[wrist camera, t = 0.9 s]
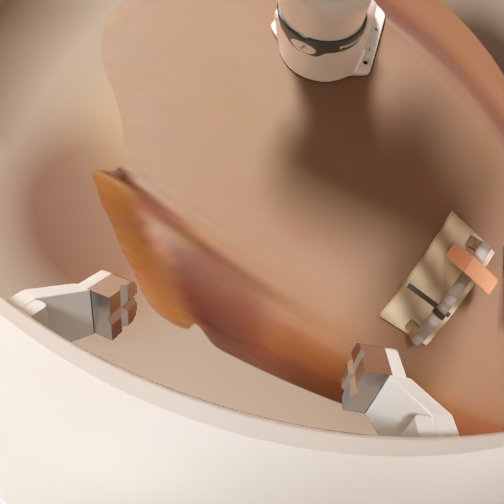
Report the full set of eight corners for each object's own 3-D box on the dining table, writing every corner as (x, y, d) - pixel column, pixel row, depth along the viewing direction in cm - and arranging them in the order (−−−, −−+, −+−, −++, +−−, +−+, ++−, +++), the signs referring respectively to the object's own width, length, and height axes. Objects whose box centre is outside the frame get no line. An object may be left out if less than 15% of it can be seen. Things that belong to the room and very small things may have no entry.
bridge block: (453, 242, 42) (474, 256, 35) (477, 265, 42) (498, 280, 35) (445, 256, 43) (464, 272, 36) (469, 277, 43) (488, 294, 36)
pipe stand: (451, 211, 43) (470, 218, 36) (492, 251, 43) (511, 263, 36) (379, 314, 51) (387, 334, 44) (424, 342, 51) (435, 363, 44)
